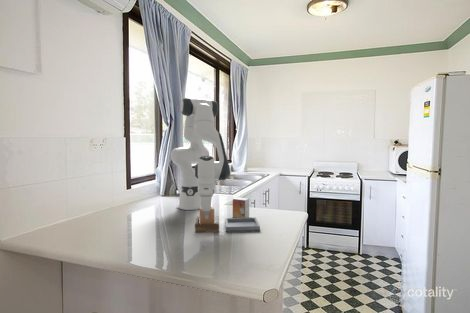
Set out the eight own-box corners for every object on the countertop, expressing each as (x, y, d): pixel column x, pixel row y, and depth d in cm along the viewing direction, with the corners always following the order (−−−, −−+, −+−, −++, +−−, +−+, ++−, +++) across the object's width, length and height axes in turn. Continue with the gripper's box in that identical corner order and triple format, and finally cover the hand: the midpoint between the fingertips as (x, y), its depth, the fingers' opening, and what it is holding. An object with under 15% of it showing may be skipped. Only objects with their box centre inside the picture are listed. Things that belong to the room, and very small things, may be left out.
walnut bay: (197, 224, 150) (197, 216, 150) (218, 223, 150) (218, 216, 150) (195, 232, 136) (195, 224, 136) (218, 232, 137) (218, 223, 137)
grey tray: (225, 222, 152) (225, 218, 151) (255, 222, 152) (255, 217, 152) (226, 232, 137) (225, 226, 136) (259, 231, 137) (259, 226, 137)
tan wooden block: (200, 222, 147) (200, 206, 146) (214, 222, 147) (214, 206, 147) (199, 225, 142) (199, 209, 141) (214, 225, 142) (214, 209, 142)
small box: (232, 217, 162) (232, 198, 161) (237, 215, 167) (236, 197, 166) (245, 219, 158) (245, 200, 157) (249, 216, 163) (249, 198, 162)
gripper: (201, 185, 154) (202, 211, 155) (198, 193, 133) (199, 222, 134) (213, 185, 154) (213, 211, 155) (212, 192, 134) (213, 222, 134)
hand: (207, 216), depth 144 cm, fingers closed on tan wooden block, 5 cm apart
